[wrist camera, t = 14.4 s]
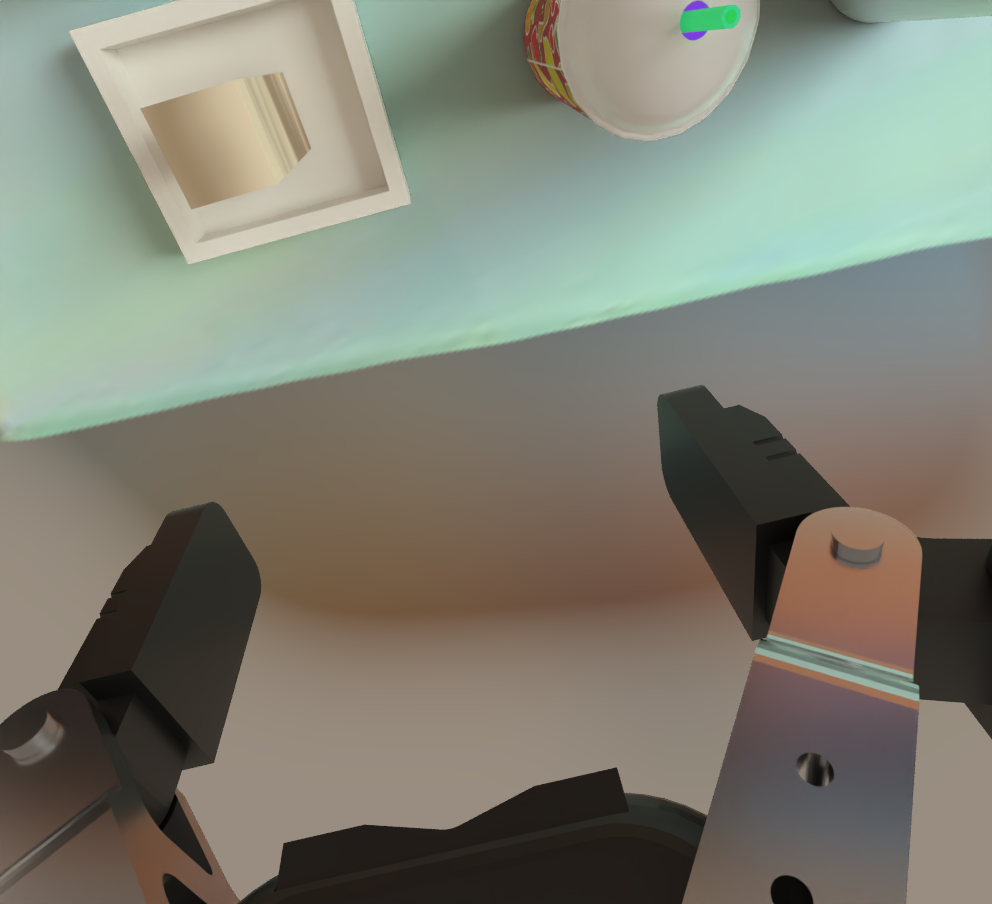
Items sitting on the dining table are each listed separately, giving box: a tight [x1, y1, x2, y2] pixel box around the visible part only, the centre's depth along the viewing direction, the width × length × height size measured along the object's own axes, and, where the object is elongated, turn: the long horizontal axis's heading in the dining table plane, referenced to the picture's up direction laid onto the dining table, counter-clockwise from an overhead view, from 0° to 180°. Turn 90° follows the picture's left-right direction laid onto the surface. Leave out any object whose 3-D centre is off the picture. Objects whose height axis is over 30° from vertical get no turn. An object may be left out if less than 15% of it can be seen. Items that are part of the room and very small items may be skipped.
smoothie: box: [524, 0, 760, 142], centre depth 28 cm, size 8×8×20 cm
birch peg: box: [140, 72, 311, 210], centre depth 31 cm, size 4×4×12 cm
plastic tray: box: [69, 0, 411, 264], centre depth 35 cm, size 14×12×3 cm
